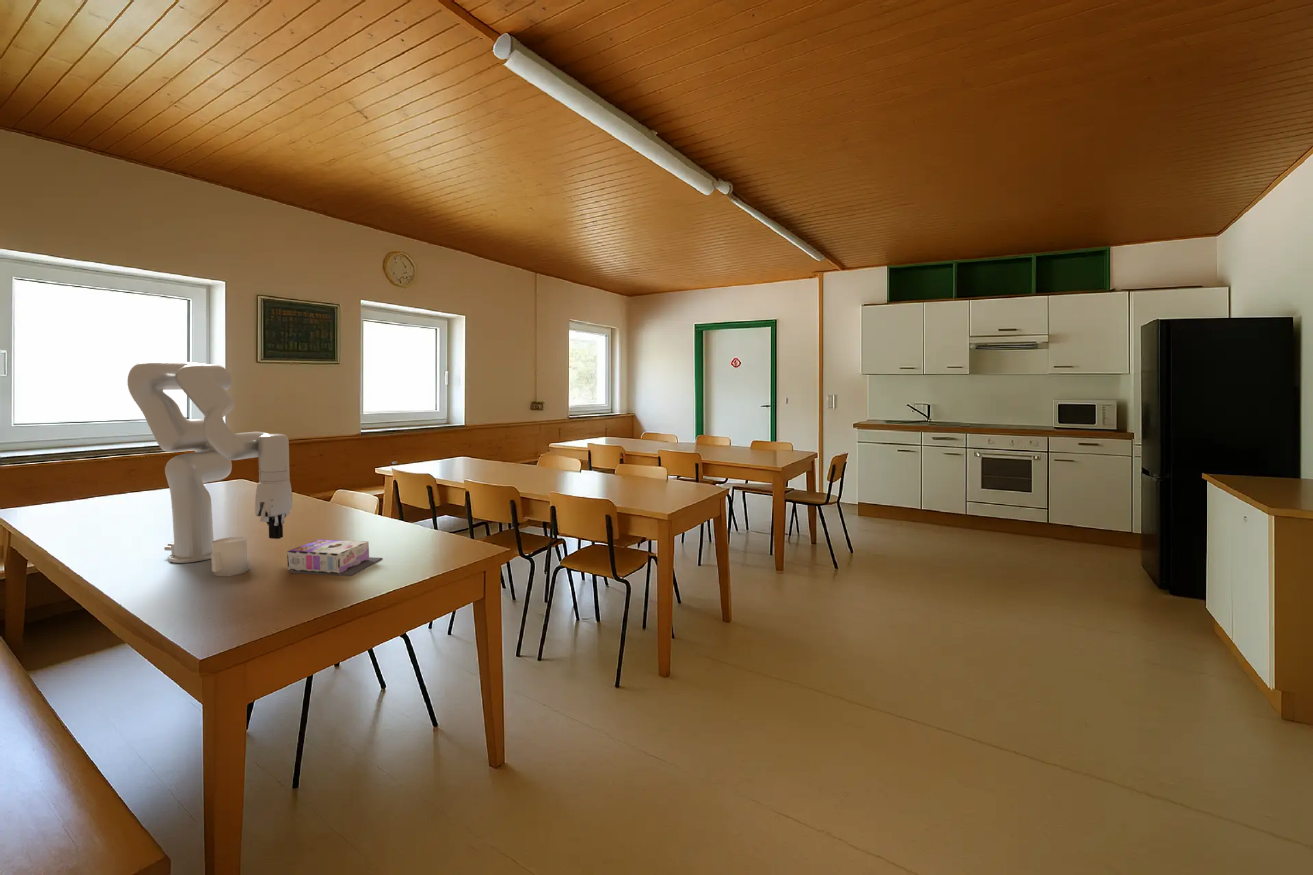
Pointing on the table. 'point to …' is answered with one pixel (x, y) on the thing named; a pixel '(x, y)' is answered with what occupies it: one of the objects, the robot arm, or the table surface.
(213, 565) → the mug
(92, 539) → the table surface
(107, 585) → the table surface
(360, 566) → the mat
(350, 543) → the candy box
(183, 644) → the table surface
